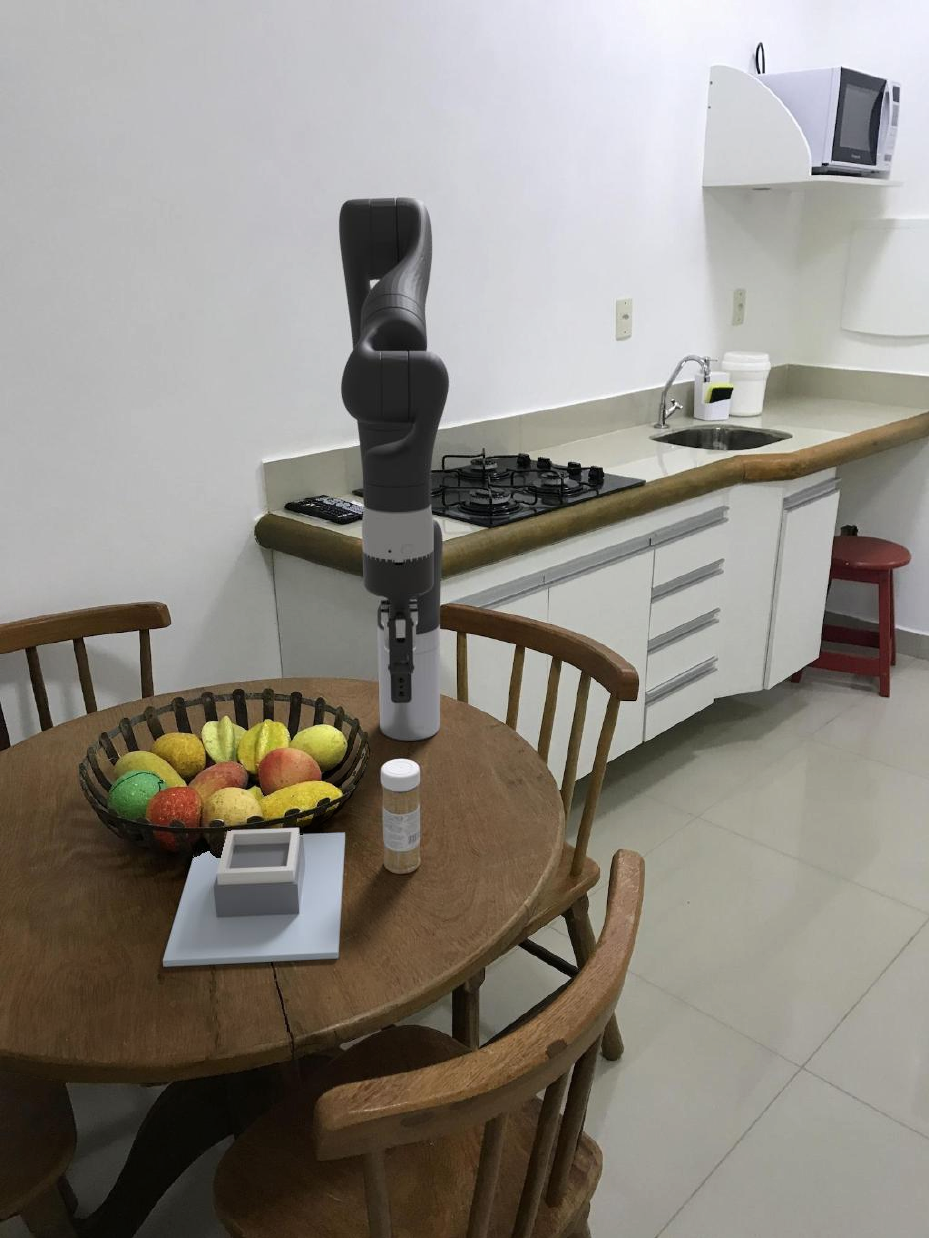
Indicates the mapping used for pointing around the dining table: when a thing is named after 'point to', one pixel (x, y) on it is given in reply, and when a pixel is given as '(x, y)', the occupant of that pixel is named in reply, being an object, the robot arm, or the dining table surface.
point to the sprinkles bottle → (401, 815)
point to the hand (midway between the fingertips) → (400, 684)
